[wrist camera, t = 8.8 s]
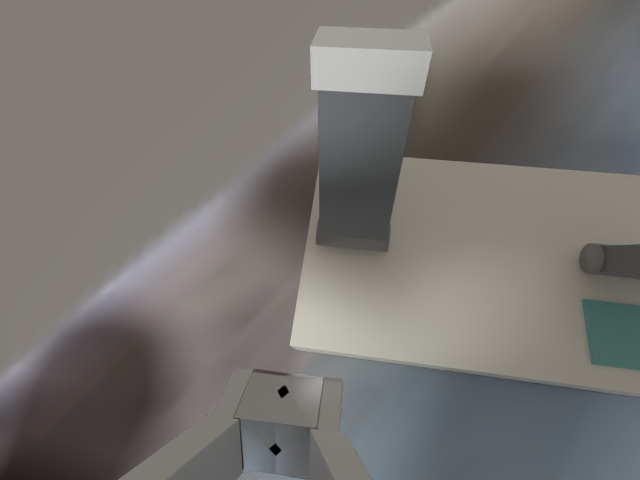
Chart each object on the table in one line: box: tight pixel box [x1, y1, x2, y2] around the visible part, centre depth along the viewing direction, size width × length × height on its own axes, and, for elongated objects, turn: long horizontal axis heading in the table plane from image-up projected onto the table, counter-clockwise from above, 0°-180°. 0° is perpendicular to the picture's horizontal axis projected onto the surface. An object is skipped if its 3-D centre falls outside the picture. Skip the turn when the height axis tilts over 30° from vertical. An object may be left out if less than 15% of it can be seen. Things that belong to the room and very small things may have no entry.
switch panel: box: [290, 157, 640, 397], centre depth 23 cm, size 14×22×3 cm, turn 82°
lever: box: [310, 26, 432, 252], centre depth 17 cm, size 2×4×12 cm, turn 82°
